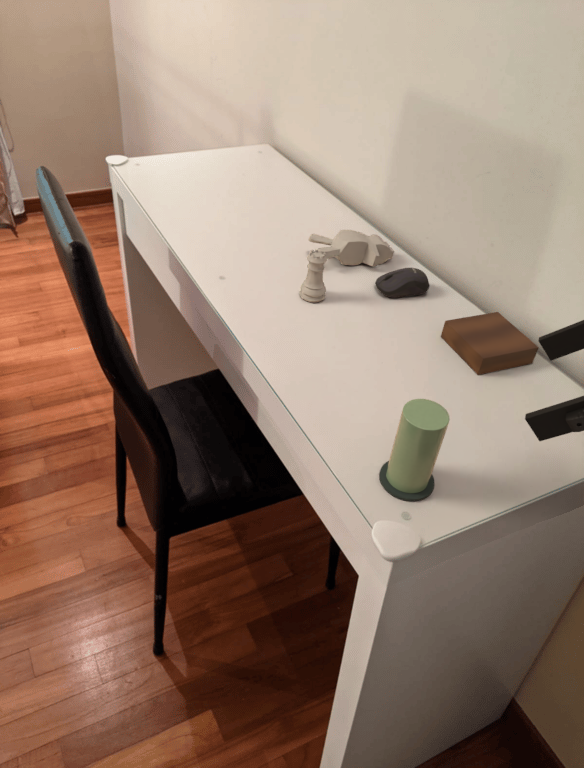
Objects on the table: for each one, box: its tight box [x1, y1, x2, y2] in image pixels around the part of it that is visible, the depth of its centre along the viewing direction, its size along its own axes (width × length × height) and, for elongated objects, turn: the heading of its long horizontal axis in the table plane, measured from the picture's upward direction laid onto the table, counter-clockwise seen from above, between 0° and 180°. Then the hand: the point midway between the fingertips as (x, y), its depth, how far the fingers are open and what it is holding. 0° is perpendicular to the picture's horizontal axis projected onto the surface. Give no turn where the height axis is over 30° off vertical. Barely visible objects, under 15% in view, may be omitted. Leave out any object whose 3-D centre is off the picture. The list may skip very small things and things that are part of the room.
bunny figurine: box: [308, 229, 395, 267], centre depth 111 cm, size 10×5×15 cm
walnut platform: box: [440, 311, 540, 376], centre depth 93 cm, size 10×10×3 cm
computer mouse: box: [374, 267, 430, 299], centre depth 104 cm, size 6×9×4 cm, turn 104°
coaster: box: [378, 460, 435, 502], centre depth 71 cm, size 6×6×1 cm
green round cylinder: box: [386, 398, 451, 493], centre depth 68 cm, size 5×5×10 cm
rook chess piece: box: [299, 248, 328, 304], centre depth 99 cm, size 4×4×8 cm
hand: (538, 385), depth 60 cm, fingers open, 13 cm apart
